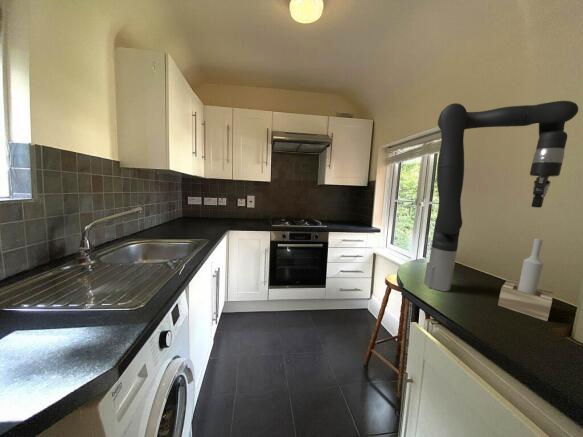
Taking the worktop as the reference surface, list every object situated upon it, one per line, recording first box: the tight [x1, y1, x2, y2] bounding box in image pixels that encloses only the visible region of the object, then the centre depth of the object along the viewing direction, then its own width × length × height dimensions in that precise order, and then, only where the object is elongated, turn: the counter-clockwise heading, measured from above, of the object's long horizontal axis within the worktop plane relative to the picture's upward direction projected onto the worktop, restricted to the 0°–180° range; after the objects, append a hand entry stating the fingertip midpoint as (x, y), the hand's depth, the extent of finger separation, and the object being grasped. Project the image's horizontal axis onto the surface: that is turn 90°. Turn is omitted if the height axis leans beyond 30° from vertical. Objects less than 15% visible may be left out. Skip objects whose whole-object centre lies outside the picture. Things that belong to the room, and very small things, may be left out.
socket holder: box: [497, 280, 554, 322], centre depth 90 cm, size 13×13×7 cm
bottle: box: [518, 238, 544, 295], centre depth 88 cm, size 5×5×25 cm
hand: (536, 207), depth 88 cm, fingers open, 8 cm apart
